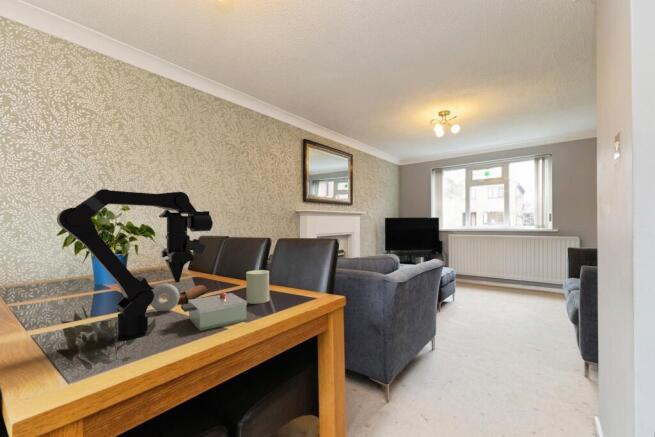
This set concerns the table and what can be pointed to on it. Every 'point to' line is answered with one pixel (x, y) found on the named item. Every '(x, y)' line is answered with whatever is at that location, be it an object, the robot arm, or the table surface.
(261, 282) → the can
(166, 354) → the table surface
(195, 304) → the lid
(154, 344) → the table surface
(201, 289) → the sunglasses case
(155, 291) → the donut
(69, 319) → the table surface
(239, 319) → the shallow mint tray
